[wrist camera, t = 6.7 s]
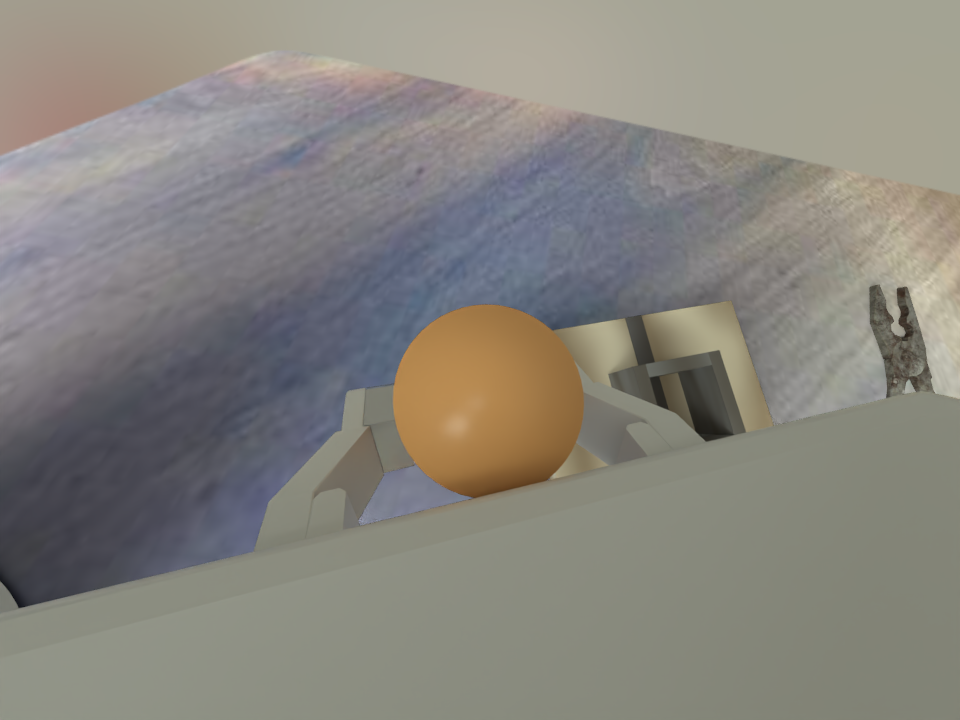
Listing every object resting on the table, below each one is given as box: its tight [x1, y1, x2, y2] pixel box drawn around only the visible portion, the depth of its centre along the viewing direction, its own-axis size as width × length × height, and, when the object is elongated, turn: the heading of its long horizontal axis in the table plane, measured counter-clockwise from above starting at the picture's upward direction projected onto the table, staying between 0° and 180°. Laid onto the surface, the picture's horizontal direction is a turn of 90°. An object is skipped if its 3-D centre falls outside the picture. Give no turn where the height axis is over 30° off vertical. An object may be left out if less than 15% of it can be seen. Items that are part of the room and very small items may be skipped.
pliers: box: [870, 285, 935, 398], centre depth 26 cm, size 10×1×20 cm
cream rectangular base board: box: [550, 301, 774, 480], centre depth 22 cm, size 16×13×4 cm
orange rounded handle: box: [393, 304, 584, 498], centre depth 11 cm, size 4×4×10 cm
